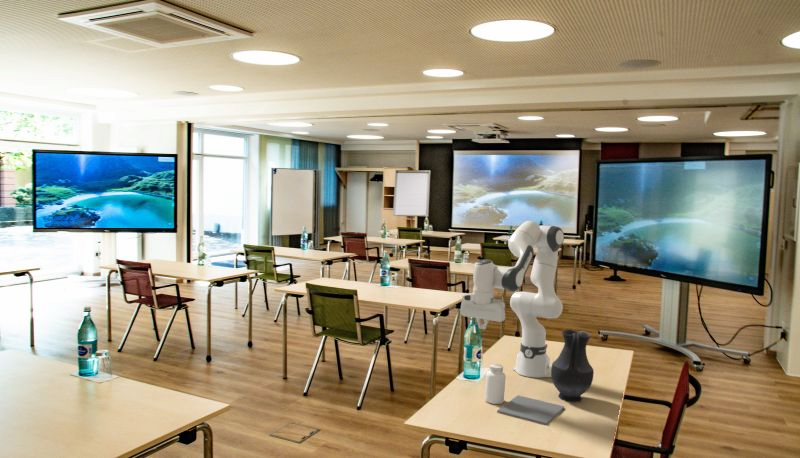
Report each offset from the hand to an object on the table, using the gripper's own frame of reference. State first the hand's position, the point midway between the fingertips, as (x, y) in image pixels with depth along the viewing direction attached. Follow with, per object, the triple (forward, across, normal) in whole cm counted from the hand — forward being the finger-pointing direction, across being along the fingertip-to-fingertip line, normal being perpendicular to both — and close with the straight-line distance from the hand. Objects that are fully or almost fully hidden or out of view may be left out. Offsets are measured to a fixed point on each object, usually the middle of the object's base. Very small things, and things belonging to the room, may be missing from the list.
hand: (482, 328), depth 259 cm
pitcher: (+28, -35, -15) cm, 47 cm away
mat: (+28, -27, +8) cm, 39 cm away
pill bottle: (+27, -11, +9) cm, 31 cm away
